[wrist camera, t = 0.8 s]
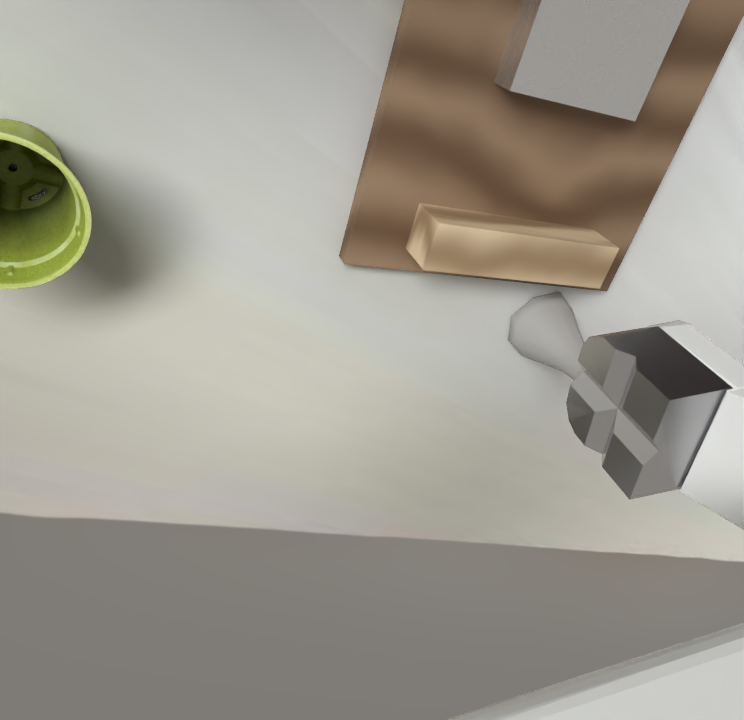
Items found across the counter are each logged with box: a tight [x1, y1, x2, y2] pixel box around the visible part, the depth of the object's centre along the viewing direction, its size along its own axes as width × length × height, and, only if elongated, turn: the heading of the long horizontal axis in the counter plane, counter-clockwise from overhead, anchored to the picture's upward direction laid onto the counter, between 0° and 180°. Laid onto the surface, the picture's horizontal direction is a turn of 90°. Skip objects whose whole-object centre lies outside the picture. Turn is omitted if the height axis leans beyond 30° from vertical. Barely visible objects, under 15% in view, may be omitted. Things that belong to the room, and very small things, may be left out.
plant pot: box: [0, 119, 92, 289], centre depth 41 cm, size 9×9×9 cm
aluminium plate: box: [494, 0, 690, 121], centre depth 48 cm, size 12×12×2 cm
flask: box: [508, 292, 584, 380], centre depth 64 cm, size 7×7×10 cm
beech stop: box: [406, 203, 619, 289], centre depth 57 cm, size 4×18×4 cm, turn 75°
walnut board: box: [339, 0, 744, 291], centre depth 53 cm, size 31×28×2 cm
